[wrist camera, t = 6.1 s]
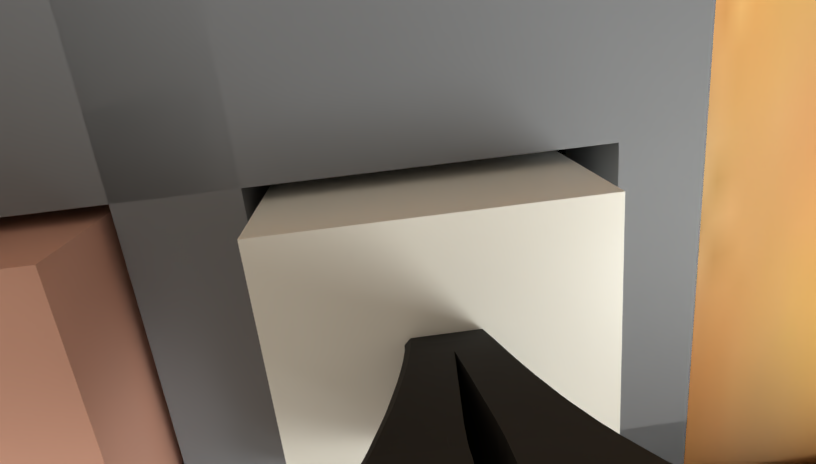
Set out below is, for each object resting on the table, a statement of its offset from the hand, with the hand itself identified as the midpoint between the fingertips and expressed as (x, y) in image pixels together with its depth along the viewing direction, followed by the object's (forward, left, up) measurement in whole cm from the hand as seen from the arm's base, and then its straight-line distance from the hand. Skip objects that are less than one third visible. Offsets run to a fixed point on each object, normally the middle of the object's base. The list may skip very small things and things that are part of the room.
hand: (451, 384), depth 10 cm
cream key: (0, 0, -4) cm, 4 cm away
